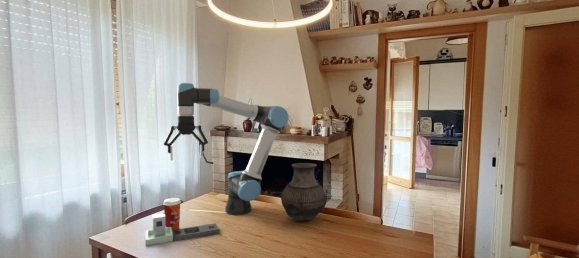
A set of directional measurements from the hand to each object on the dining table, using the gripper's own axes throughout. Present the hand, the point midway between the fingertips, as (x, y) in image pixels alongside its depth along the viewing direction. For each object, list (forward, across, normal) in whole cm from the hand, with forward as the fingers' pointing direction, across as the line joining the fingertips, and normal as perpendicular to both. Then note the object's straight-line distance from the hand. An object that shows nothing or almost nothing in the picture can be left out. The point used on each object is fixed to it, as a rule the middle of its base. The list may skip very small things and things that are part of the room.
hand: (186, 159), depth 141 cm
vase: (+35, -58, +13) cm, 69 cm away
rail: (+35, -3, +8) cm, 36 cm away
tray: (+35, +13, +6) cm, 38 cm away
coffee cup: (+35, +7, -2) cm, 36 cm away
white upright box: (+34, +13, +6) cm, 37 cm away
